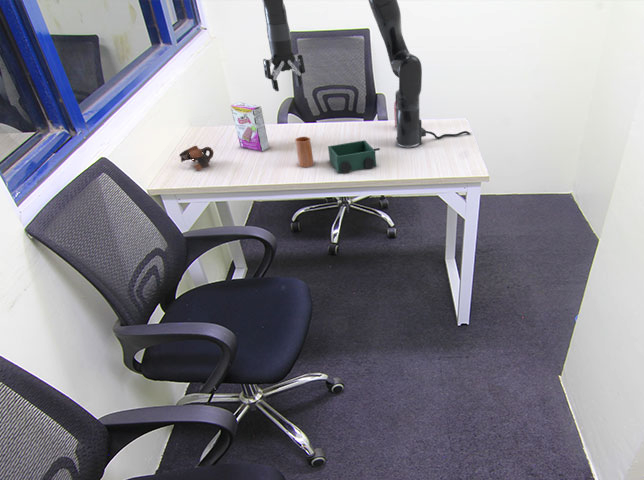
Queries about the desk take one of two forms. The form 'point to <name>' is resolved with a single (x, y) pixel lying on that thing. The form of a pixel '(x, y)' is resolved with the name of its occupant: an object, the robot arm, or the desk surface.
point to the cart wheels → (368, 164)
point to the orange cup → (304, 151)
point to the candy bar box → (250, 126)
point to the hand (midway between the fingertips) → (287, 88)
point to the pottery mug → (197, 156)
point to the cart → (351, 154)
